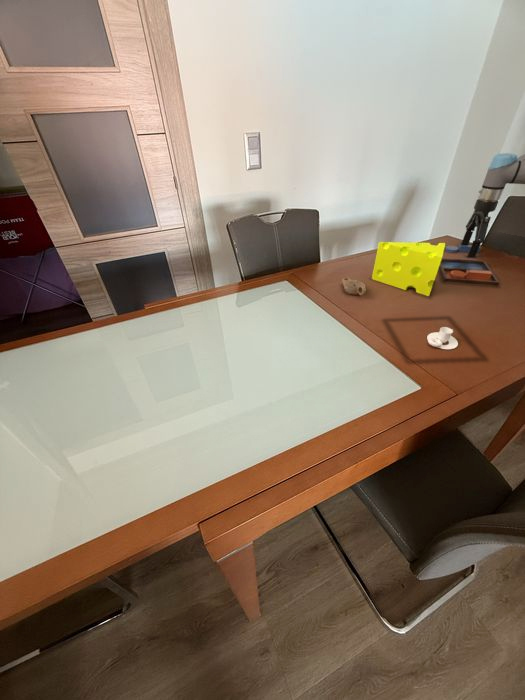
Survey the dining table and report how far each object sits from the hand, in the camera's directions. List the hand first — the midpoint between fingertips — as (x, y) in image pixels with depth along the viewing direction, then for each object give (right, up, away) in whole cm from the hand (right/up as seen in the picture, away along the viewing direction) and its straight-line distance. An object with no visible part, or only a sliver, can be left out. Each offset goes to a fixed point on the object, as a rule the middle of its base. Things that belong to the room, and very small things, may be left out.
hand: (467, 251), depth 135 cm
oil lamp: (-58, -23, -23) cm, 66 cm away
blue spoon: (-3, 0, +1) cm, 3 cm away
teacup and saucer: (-42, -41, -46) cm, 75 cm away
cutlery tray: (-12, -14, -16) cm, 25 cm away
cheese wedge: (-36, -20, -21) cm, 47 cm away
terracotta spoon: (-14, -16, -20) cm, 29 cm away
